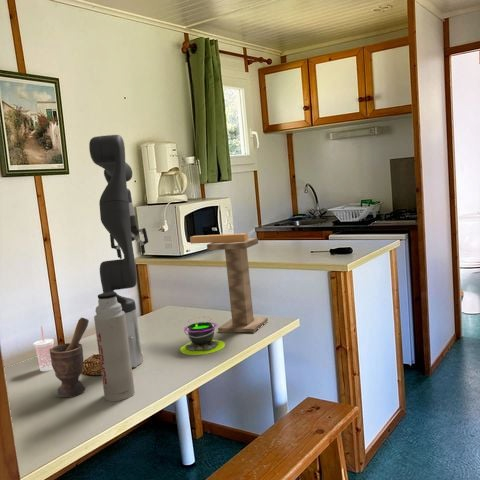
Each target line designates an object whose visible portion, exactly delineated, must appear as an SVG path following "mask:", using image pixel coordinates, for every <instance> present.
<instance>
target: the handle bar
mask: <svg viewBox="0 0 480 480" xmlns="http://www.w3.org/2000/svg"><path fill="white" fill-rule="evenodd" d="M248 238H249V236H248V232H247V233H246V232H245V233H226V234H224V233H223V234H207V235H206V234H205V235H204V234H203V235H193V236H189V241H190V244H191V245H192V244H193V245H194V244H210V243H217V242H240V241H247V240H248Z"/></svg>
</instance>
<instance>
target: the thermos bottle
mask: <svg viewBox="0 0 480 480" xmlns="http://www.w3.org/2000/svg"><path fill="white" fill-rule="evenodd" d="M117 294H118V293H117V292H116V291H114V292H107V293H103V292H102V293H100V294H97V301H98V305H97V306H96V307H95V315H94V317H93V321H94V327H95V335H96V341H97V351H98V357H99V365H100V373H101V380H102V386H103V394H104V399H105V401H110V402H119V401H124V400H127V399H129V398H131V397H133V396H134V395H135V393H136V392H135V383H134V376H133V375H134V374H133V369H132V367H131V360H130V350H129V342H128V334H127V326H126V318H125V312H124V311H122V307H121V304H120V303H118V302H117V298H116V296H117Z"/></svg>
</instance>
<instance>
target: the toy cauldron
mask: <svg viewBox="0 0 480 480" xmlns="http://www.w3.org/2000/svg"><path fill="white" fill-rule="evenodd" d="M193 317H195V315H193ZM198 318H201V316H200V317H198ZM202 318H205V316H202ZM207 318H209V319H210V321H209V320H207V321H200V322H198V321H195V323H191V324H190V321H191V320H192V319H188V321H187V323H189V325H185V327H184V328H183V331H184V332H183V333H184V334H185V335H186V336H187V337H188V339H189V340H190V342H187V343H186V344H184V345H182V346H181V347H180V349H179V351H180V352H181V353H182V354H184V355H189V356H199V355H200V356H201V355H207V354H212V353H216V352H218V351H221V350H222V349H224V348H225V346H226V342H224V341H222V340H219V339H214V336H215V331H216V328H217V327H218V324H217V323H215V322H211V320H212V317H208V316H207Z"/></svg>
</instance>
